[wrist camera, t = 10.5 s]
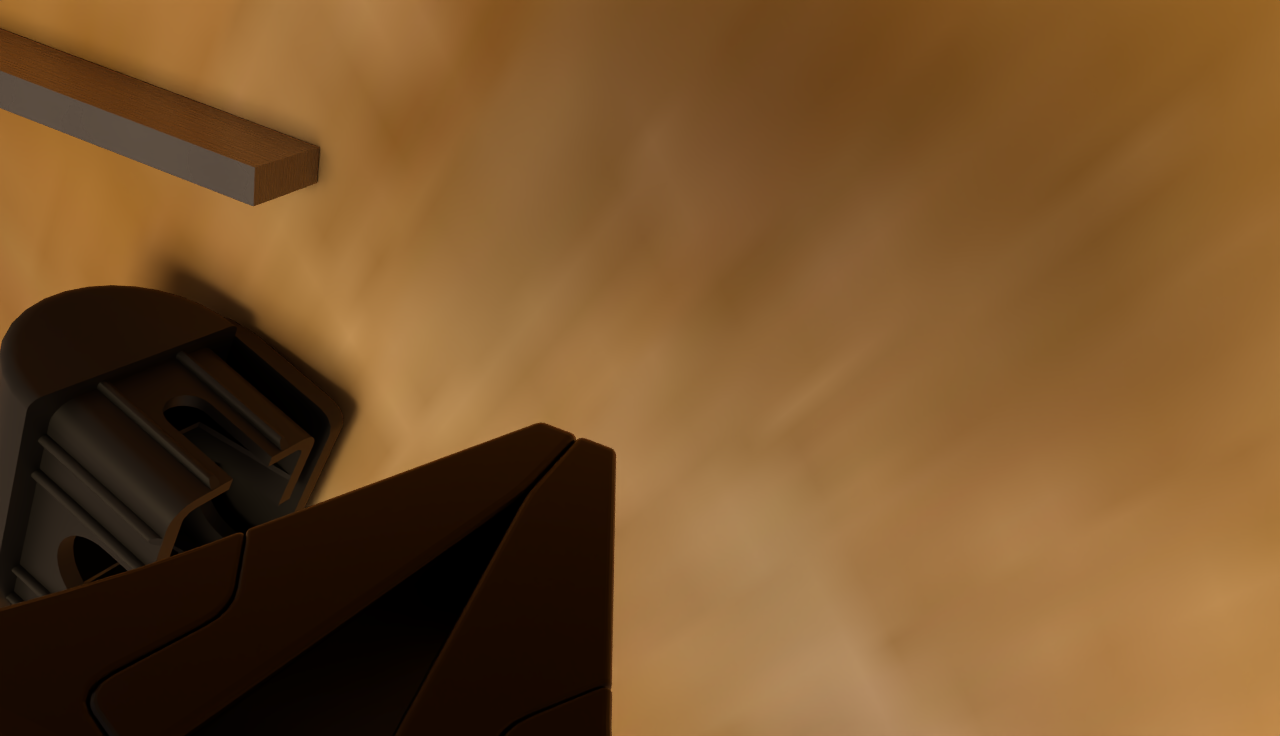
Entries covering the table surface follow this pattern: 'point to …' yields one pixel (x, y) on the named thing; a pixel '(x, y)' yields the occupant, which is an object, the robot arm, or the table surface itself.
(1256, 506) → the table surface
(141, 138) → the frame
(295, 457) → the end cap
